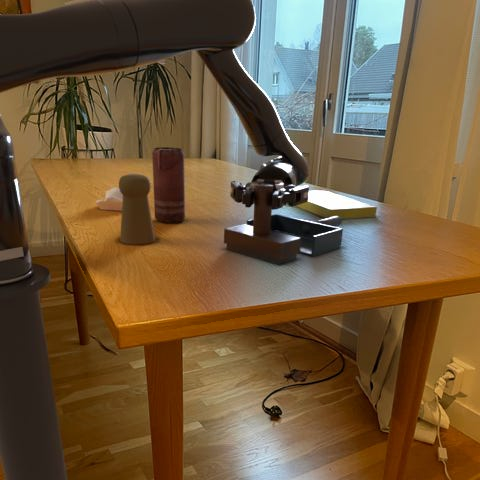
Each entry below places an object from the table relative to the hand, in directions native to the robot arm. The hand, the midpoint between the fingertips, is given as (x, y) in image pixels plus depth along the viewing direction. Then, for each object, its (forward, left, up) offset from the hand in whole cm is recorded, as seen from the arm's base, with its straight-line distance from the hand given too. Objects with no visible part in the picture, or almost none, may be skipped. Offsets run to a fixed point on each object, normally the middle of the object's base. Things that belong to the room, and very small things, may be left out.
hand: (261, 201), depth 71 cm
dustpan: (+12, +13, -9) cm, 20 cm away
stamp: (+1, +3, -9) cm, 9 cm away
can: (-13, +27, -9) cm, 31 cm away
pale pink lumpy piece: (-24, +40, -9) cm, 48 cm away
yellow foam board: (+25, +41, -9) cm, 48 cm away
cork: (-19, +12, -9) cm, 24 cm away
